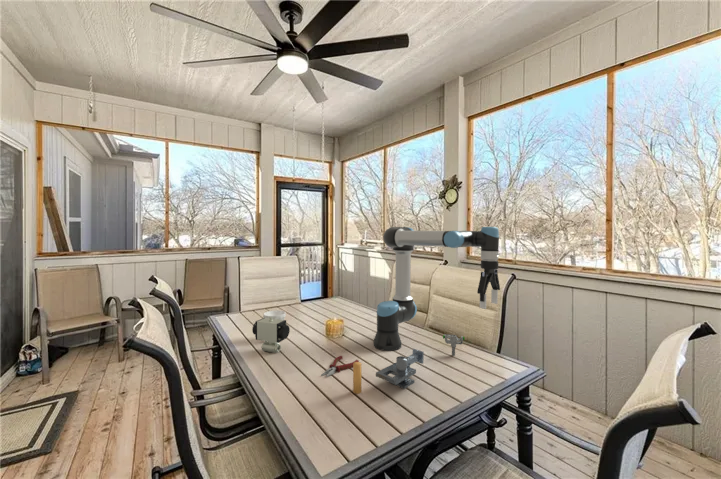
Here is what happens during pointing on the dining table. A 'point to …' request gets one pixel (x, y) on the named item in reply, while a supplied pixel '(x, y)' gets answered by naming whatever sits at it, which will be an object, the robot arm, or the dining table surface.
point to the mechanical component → (453, 341)
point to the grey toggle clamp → (402, 369)
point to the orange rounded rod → (357, 377)
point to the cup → (275, 314)
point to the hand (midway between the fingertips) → (488, 305)
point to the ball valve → (271, 333)
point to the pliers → (335, 368)
